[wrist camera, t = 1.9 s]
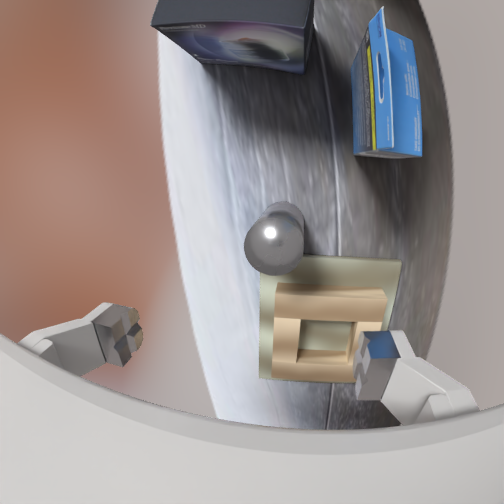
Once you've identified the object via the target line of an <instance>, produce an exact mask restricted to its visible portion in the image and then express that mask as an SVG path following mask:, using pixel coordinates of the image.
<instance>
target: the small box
mask: <svg viewBox="0 0 504 504" xmlns="http://www.w3.org/2000/svg"><path fill="white" fill-rule="evenodd" d="M313 18H314V0H158V3H157V5H156V8H155V11H154V14H153V17H152V20H151V23H150V25H151V26H152V27H154V28H155V29H157V30H158V31H160V32H161V33H162V34H164V35H165V36H167V37H168V38H169V39H171V40H172V41H173V42H175V43H176V44H177V45H179V46H180V47H181V48H183V49H184V50H185V51H186V52H188V53H189V54H190V55H191V56H193V57H194V58H195V59H196V60H198V61H199V62H200V63H206V64H225V65H238V66H248V67H257V68H265V69H272V70H278V71H284V72H290V73H295V74H301V75H304V74H305V72H306V67H307V62H308V57H309V52H310V47H311V41H312V36H313V31H314V24H313Z"/></svg>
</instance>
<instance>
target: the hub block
mask: <svg viewBox="0 0 504 504" xmlns="http://www.w3.org/2000/svg"><path fill="white" fill-rule="evenodd" d="M401 265H402V262H401V261H400V260H399V259H381V258H363V257H345V256H326V255H308V254H303V256H302V259H301V261H300V263H299V264H298V265H297V267H296V268H295V269H293V270H292V271H291V272H289V273H287V274H284V275H280V276H270V275H266V274H263V273H261V272H260V328H259V378H263V379H273V380H284V381H298V382H316V383H356V381H357V380H356V379H355V378H354V377H353V359H354V354H355V351H356V350H357V349H359V345H358V338H359V334H360V332H361V331H387V328H388V324H389V321H390V317H391V313H392V309H393V304H394V300H395V296H396V291H397V286H398V281H399V276H400V271H401Z"/></svg>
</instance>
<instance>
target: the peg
mask: <svg viewBox="0 0 504 504" xmlns="http://www.w3.org/2000/svg"><path fill="white" fill-rule="evenodd" d="M244 251H245V255H246V258H247V260H248V261H249V263H250V264H251V265H252V266H253V267H254V268H255V269H256V270H257V271H259V272H261V273H263V274H266V275H270V276H280V275H284V274H287V273H289V272H291V271H292V270H293V269H295V268H296V267H297V265H298V264H299V263H300V261H301V259H302V256H303V252H304V218H303V215H302V213H301V211H300V210H299V209H298V208H297V207H296V206H295V205H293V204H291V203H289V202H276V203H274V204H272V205H270V206H269V207H268V208H267V209H266V210H265V211H264V212H263V214H262V215H261V216H260V217H259V219H258V220H257V221H256V222H255V224H254V225H253V226H252V227H251V229H250V230H249V231H248V233H247V235H246V238H245V242H244Z"/></svg>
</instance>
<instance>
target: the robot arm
mask: <svg viewBox="0 0 504 504" xmlns="http://www.w3.org/2000/svg"><path fill="white" fill-rule="evenodd" d="M139 319H140V318H139V314H138V311H137V310H136V309H135V308H131V307H126V306H121V305H117V304H112V303H102V304H101V305H100V306H98V307H97V308H96V309H94V310H93V311H92V312H90V313H89V314H88V315H87V316H85V317H84V318H82V319H76V320H73V321H70V322H66V323H63V324H59V325H56V326H52V327H48V328H44V329H41V330H37V331H33V332H32V333H30V334H29V335H28V336H26V337H25V338H24V339H22V340H21V341H20V342H19V343H17V344H16V343H15V342H13V341H11V340H10V339H8V338H7V337H5V336H3V335H2V334H0V504H504V404H501V405H498V406H495V407H491V408H488V409H485V410H481V411H480V410H479V408H478V406H477V404H476V402H475V400H474V398H473V396H472V394H471V392H470V390H469V388H467V387H466V386H464V385H463V384H461V383H459V382H458V381H456V380H455V379H453V378H452V377H450V376H448V375H447V374H445V373H444V372H442V371H441V370H439V369H438V368H436V367H434V366H433V365H431V364H430V363H428V362H427V361H425V360H423V359H422V358H420V357H416V356H415V354H414V352H413V350H412V348H411V346H410V344H409V342H408V340H407V338H406V336H405V334H404V332H403V331H402V330H390V331H361V332H360V334H359V338H358V345H359V349H357V350H356V351H355V354H354V359H353V377H354V378H355V379H356V380H357V381H356V384H355V391H356V397H357V400H381V402H382V403H383V404H384V405H385V406H386V408H387V409H388V410H389V411H390V412H391V413H392V414H393V415H394V416H395V417H396V418H397V420H398V421H399V422H400V423H401V424H402V425H403V426H396V427H386V428H373V429H352V430H314V429H295V428H282V427H271V426H262V425H254V424H247V423H240V422H234V421H228V420H222V419H217V418H211V417H206V416H201V415H197V414H192V413H188V412H184V411H180V410H176V409H172V408H168V407H165V406H161V405H157V404H154V403H151V402H147V401H144V400H141V399H137V398H135V397H131V396H129V395H126V394H123V393H120V392H117V391H114V390H112V389H109V388H106V387H104V386H101V385H99V384H96V383H94V382H92V381H89V380H87V379H84V378H82V377H80V376H82V375H84V374H86V373H88V372H90V371H92V370H94V369H96V368H98V367H100V366H101V365H103V364H105V363H106V362H107V363H110V364H114V365H117V366H121V367H123V366H124V365H125V364H126V363H127V362H128V361H129V360H130V358H131V357H132V356H131V353H132V352H134V351H137V350H138V349H139V348H140V346H141V344H142V341H143V332H142V328H141V327H140V326H139V325H138V321H139Z"/></svg>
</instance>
